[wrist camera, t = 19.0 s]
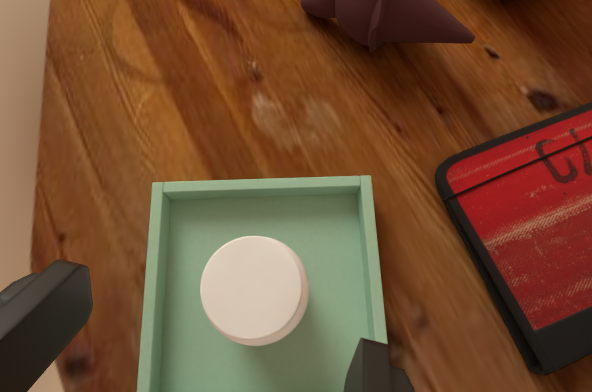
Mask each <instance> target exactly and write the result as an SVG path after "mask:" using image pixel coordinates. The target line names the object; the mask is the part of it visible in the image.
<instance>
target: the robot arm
mask: <svg viewBox="0 0 592 392" xmlns="http://www.w3.org/2000/svg"><path fill="white" fill-rule="evenodd" d="M92 306H93V302H92V293H91V284H90V275H89V269H88V267H87V266H85V265H81V264H77V263H73V262H70V261H66V260H62V259H59V260H56V261H54V262H53V263H52V264H50V265H49V266H48V267H47V268H46V269H45V270H43V271H42V272H41V273H40V274H39V273H35V272H34V273H32V274H30V275H27V276H25V277H23V278H21V279H19V280H17V281H15V282H13V283H11V284H10V285H9V286H8V287H6V288H5V289H4V290H3V291H1V292H0V392H27V391H28V390H29V389H30V388H31V387H32V385H33V384H34V383H35V382H36V381H37V380H38V378H39V377H40V376H41V375H42V374H43V373H44V371H45V370H46V369H47V368H48V367H49V366H50V365H51V363H52V362H53V361H54V360H55V359H56V358H57V356H58V355H59V354H60V353H61V352H62V351H63V349H64V348H65V347H66V346H67V345H68V344H69V342H70V341H71V340H72V339H73V338H74V337H75V335H76V334H77V333H78V332H79V331H80V330H81V328H82V327H83V326H84V325H85V324H86V322H87V320H88V319H89V316H90V314H91V311H92ZM343 392H415V391H414V388H413V386H412V384H411V382H410V380H409V378H408V376H407V374H406V372H405V370H404V369H400V368H396V367H392V366H390V352H389V346H388V344H385V343H381V342H377V341H373V340H369V339H366V338H362V337H361V338H360V340H359V342H358V345H357V348H356V350H355V353H354V356H353V358H352V361H351V363H350V366H349V369H348V372H347V375H346V379H345V384H344V391H343Z"/></svg>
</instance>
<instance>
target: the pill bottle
mask: <svg viewBox="0 0 592 392" xmlns="http://www.w3.org/2000/svg"><path fill="white" fill-rule="evenodd" d="M200 295H201V301H202V305H203V308H204V310H205V313H206V314H207V316H208V318H209V320H210V322H211V323H212V324H213V326H214V327H215V328H216V329H217V330H218V331H219V332H220V333H221V334H222V335H223V336H225V337H226V338H228V339H229V340H231V341H233V342H236V343H239V344H242V345H247V346H261V345H267V344H270V343H273V342H276V341H278V340H280V339H282V338H283V337H285V336H286V335H288V334H289V333H290V332H291V331H292V330H293V329H294V328H295V327H296V326H297V325H298V323H299V322H300V321H301V319H302V317H303V315H304V313H305V311H306V308H307V305H308V300H309V280H308V275H307V272H306V269H305V267H304V265H303V263H302V261H301V260H300V258H299V257H298V256H297V254H296V253H295V252H294V251H293V250H292V249H291V248H289V247H288V246H287V245H285V244H284V243H282V242H280V241H278V240H275V239H272V238H268V237H262V236H245V237H240V238H237V239H234V240H232V241H230V242H228V243H226V244H225V245H223V246H222V247H221V248H219V249H218V250H217V251H216V252H215V253H214V254H213V255H212V257H211V258H210V259H209V261H208V263H207V265H206V267H205V269H204V271H203V274H202V278H201V285H200Z"/></svg>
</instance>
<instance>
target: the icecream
mask: <svg viewBox="0 0 592 392" xmlns="http://www.w3.org/2000/svg"><path fill="white" fill-rule="evenodd" d="M301 6H302V8H303V9H304V11H305V12H307V13H309V14H311V15H313V16H316V17H321V18H335V17H336V18H337V20H338V22H339V25H340V27H341V28H342V29H343V30H344V31H345V32H346V34H347V35H348V36H349V37H351V38H352V39H354V40H355V41H357V42H358V43H360V44H361V45H369V50H370V53H371V52H373V51H375V49H376V48H378V47H380V46H382V45H384V42H418V43H472V42H473V41H474V39H475V36H474V35H473V34H472V33H471V32H470V31H469V30H468V29H467V28H466V27H465V26H464V25H463V24H461V23H460V22H459V21H458V20H457V19H456V18H455V17H454V16H452V15H451V14H450V13H449V12H448V11H447V10H446V9H445V8H443V7H442V6H441V5H440V4H439V3H438V2H437V1H436V0H301Z"/></svg>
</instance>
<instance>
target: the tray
mask: <svg viewBox="0 0 592 392" xmlns="http://www.w3.org/2000/svg"><path fill="white" fill-rule="evenodd" d="M245 236H262V237H268V238H272V239H275V240H278V241H280V242H282V243H284V244H285V245H287V246H288V247H289V248H291V249H292V250H293V251H294V252H295V253H296V254H297V256H298V257H299V258H300V260H301V261H302V263H303V265H304V267H305V269H306V272H307V275H308V280H309V300H308V305H307V308H306V311H305V313H304V315H303V317H302V319H301V321H300V322H299V323H298V325H297V326H296V327H295V328H294V329H293V330H292V331H291V332H290V333H289V334H288V335H286V336H285V337H283V338H282V339H280V340H278V341H276V342H273V343H270V344H267V345H261V346H247V345H242V344H239V343H236V342H233V341H231V340H229V339H228V338H226V337H225V336H223V335H222V334H221V333H220V332H219V331H218V330H217V329H216V328H215V327H214V326H213V324H212V323H211V322H210V320H209V318H208V316H207V314H206V313H205V310H204V308H203V305H202V301H201V295H200V285H201V278H202V274H203V271H204V269H205V267H206V265H207V263H208V261H209V259H210V258H211V257H212V255H213V254H214V253H215V252H216V251H217V250H218V249H219V248H221V247H222V246H223V245H225V244H226V243H228V242H230V241H232V240H234V239H237V238H240V237H245ZM361 337H362V338H366V339H369V340H373V341H377V342H381V343H385V344H388V341H387V331H386V321H385V311H384V301H383V291H382V281H381V271H380V261H379V251H378V241H377V232H376V222H375V212H374V202H373V192H372V182H371V176H370V175H369V176H339V177H307V178H276V179H245V180H213V181H182V182H164V183H163V182H154V183H152V196H151V209H150V223H149V236H148V249H147V263H146V276H145V289H144V303H143V316H142V329H141V342H140V356H139V369H138V382H137V392H343V391H344V384H345V379H346V375H347V372H348V369H349V366H350V363H351V361H352V358H353V356H354V353H355V350H356V348H357V345H358V342H359V340H360V338H361Z"/></svg>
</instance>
